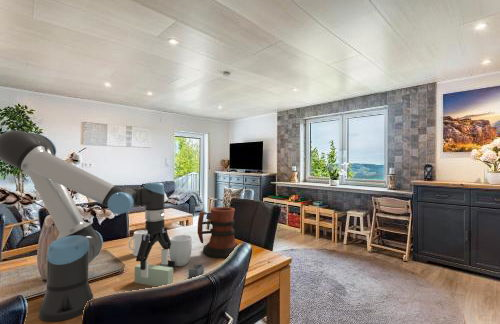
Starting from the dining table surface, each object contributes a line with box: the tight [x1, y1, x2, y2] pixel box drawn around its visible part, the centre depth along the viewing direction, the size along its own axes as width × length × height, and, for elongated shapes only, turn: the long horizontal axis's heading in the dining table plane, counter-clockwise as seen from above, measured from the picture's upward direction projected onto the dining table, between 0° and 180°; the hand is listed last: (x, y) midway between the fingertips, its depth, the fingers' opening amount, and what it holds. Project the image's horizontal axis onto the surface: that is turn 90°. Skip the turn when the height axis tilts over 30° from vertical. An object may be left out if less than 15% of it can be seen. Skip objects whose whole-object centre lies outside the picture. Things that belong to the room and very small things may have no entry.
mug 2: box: [168, 234, 193, 267], centre depth 131 cm, size 15×11×13 cm
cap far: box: [158, 259, 176, 271], centre depth 120 cm, size 6×4×4 cm
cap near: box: [188, 263, 205, 279], centre depth 116 cm, size 6×4×4 cm
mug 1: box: [128, 229, 148, 257], centre depth 143 cm, size 12×8×12 cm
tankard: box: [197, 206, 239, 260], centre depth 149 cm, size 22×25×25 cm
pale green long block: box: [134, 263, 174, 287], centre depth 108 cm, size 4×16×7 cm, turn 75°
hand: (155, 270), depth 109 cm, fingers open, 13 cm apart
